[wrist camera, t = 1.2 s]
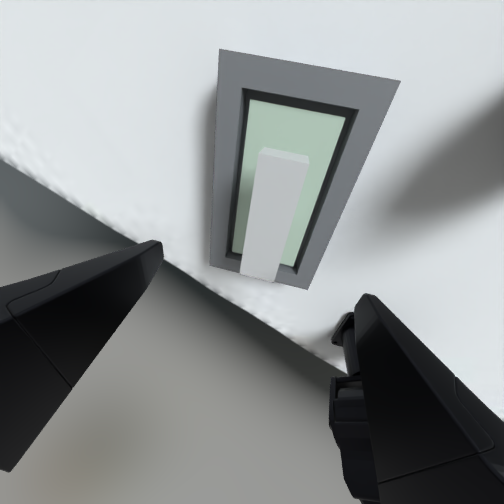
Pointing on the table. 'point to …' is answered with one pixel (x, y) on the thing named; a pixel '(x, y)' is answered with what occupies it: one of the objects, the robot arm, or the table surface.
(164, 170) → the table surface
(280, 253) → the cover
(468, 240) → the table surface
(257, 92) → the case
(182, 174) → the table surface
